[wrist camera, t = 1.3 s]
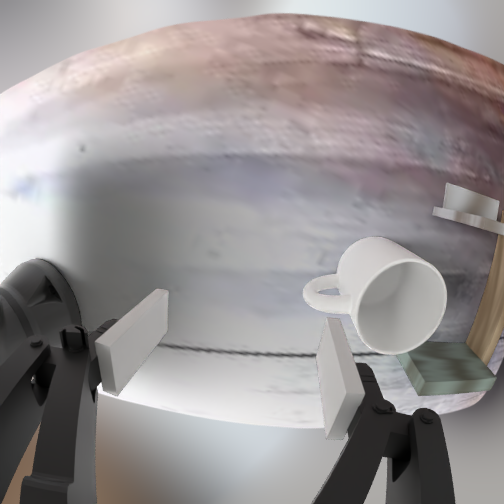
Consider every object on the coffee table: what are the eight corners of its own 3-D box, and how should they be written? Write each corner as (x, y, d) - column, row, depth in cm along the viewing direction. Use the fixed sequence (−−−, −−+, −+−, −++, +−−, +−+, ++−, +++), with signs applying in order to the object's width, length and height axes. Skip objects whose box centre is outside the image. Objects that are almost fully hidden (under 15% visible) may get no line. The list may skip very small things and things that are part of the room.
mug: (300, 310, 32) (305, 362, 22) (299, 237, 30) (305, 263, 20) (401, 304, 31) (438, 348, 21) (406, 233, 29) (453, 256, 19)
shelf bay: (389, 363, 32) (414, 413, 23) (437, 180, 27) (490, 181, 17) (463, 364, 31) (494, 404, 22) (510, 205, 26) (561, 216, 16)
